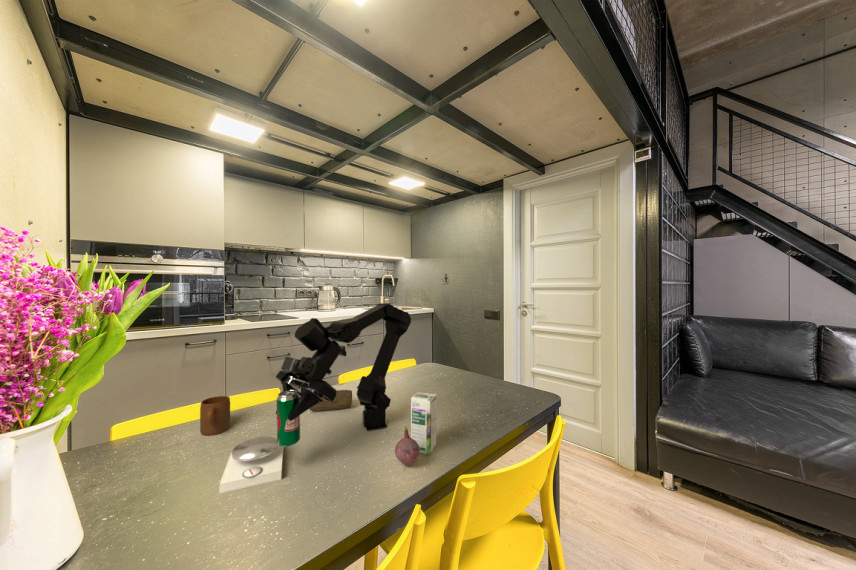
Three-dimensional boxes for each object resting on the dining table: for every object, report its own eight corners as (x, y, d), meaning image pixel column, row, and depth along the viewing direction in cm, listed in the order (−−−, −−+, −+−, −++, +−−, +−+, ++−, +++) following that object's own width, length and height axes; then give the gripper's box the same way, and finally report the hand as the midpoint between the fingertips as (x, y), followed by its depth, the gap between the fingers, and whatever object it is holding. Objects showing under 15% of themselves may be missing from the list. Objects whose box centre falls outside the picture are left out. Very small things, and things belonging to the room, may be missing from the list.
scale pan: (279, 440, 82) (279, 433, 82) (277, 459, 73) (277, 452, 73) (235, 448, 78) (235, 441, 78) (228, 469, 69) (228, 461, 69)
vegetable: (396, 458, 79) (396, 419, 79) (420, 459, 79) (420, 420, 79) (393, 472, 73) (393, 431, 73) (418, 473, 72) (419, 431, 73)
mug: (225, 439, 88) (225, 407, 88) (193, 445, 85) (193, 411, 85) (231, 423, 99) (232, 394, 99) (203, 427, 96) (203, 397, 96)
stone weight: (351, 403, 116) (351, 386, 116) (352, 410, 109) (353, 392, 110) (309, 408, 112) (310, 389, 112) (308, 415, 105) (308, 396, 105)
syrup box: (409, 451, 82) (410, 397, 82) (418, 441, 88) (418, 390, 88) (429, 455, 80) (430, 400, 80) (436, 444, 86) (437, 393, 86)
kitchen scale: (283, 449, 83) (283, 440, 83) (281, 479, 70) (281, 469, 70) (231, 459, 78) (231, 450, 78) (219, 494, 65) (219, 482, 65)
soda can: (287, 449, 70) (286, 398, 70) (272, 445, 72) (271, 395, 72) (304, 439, 75) (304, 390, 75) (290, 435, 77) (289, 388, 77)
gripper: (282, 339, 82) (238, 393, 73) (325, 347, 71) (281, 411, 62) (308, 362, 88) (271, 413, 79) (352, 372, 78) (315, 433, 69)
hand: (283, 417), depth 72 cm, fingers closed on soda can, 5 cm apart
